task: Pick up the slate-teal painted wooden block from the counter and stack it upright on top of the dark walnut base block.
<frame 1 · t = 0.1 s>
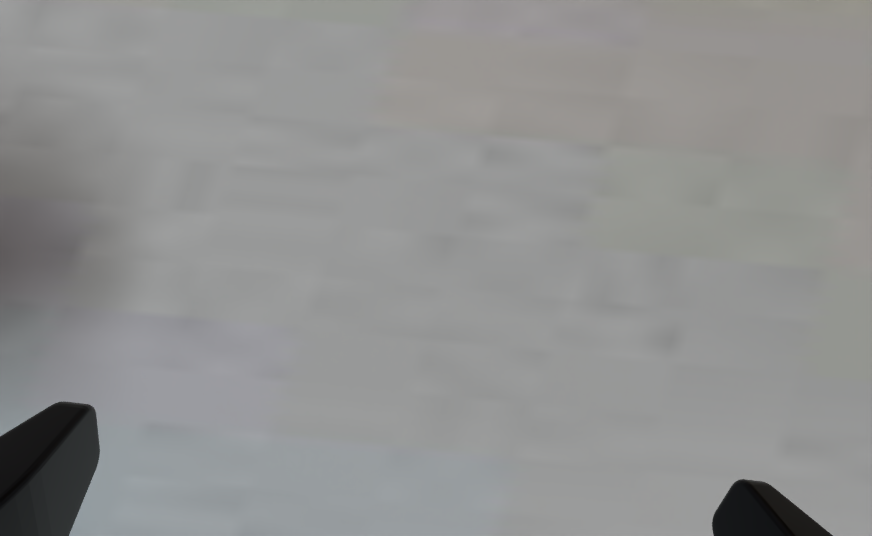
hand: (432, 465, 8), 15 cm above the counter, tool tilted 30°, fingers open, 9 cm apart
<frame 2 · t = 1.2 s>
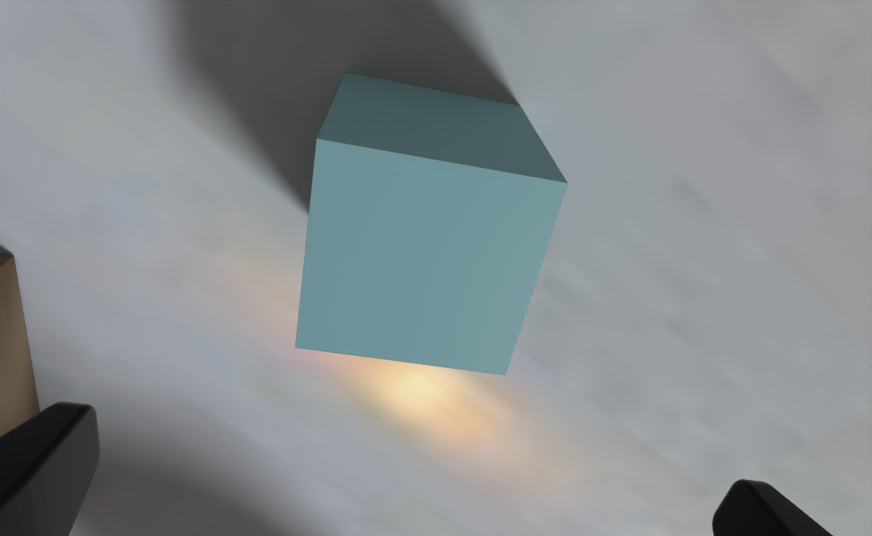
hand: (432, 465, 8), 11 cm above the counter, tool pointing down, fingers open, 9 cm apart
teal block: (418, 171, 18), on the counter
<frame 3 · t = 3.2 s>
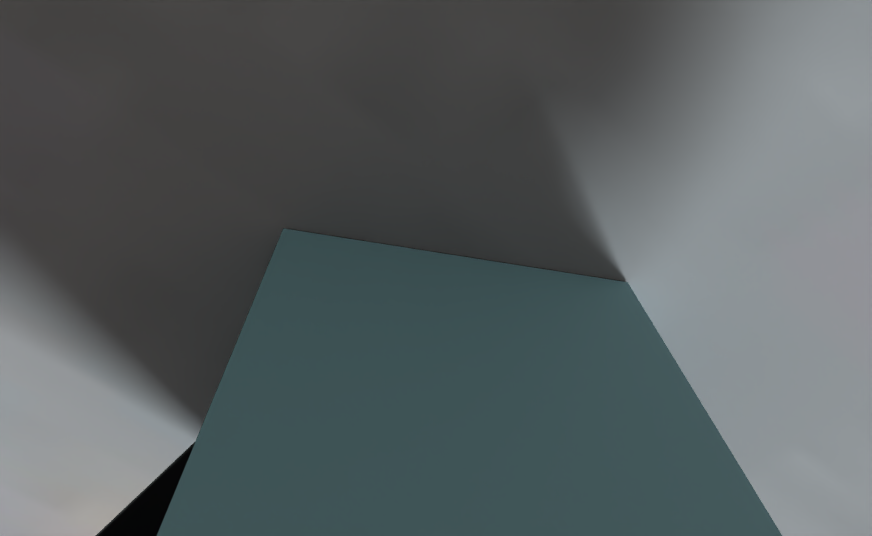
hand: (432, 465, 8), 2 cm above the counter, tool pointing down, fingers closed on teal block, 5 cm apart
teal block: (428, 390, 10), on the counter, touching gripper
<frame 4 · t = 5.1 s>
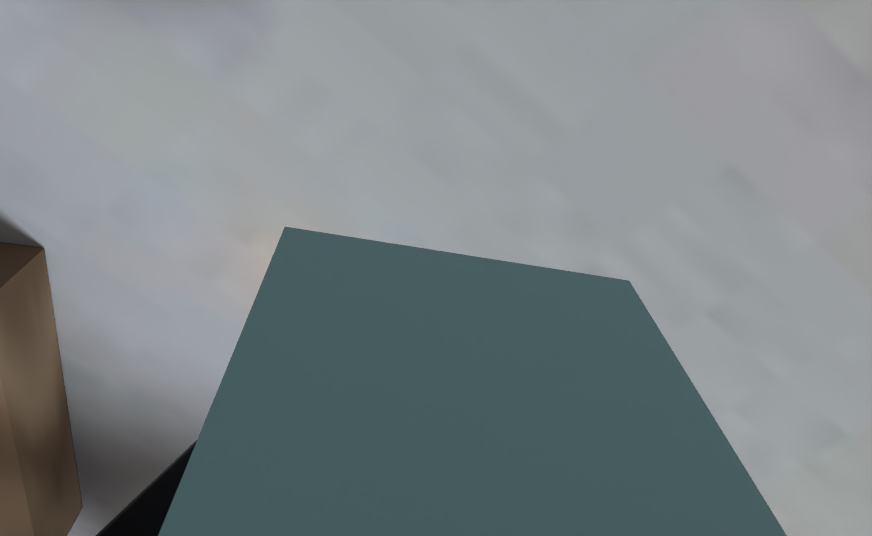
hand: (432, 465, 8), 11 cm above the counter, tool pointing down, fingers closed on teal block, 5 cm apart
teal block: (430, 388, 10), point 9 cm above the counter, touching gripper
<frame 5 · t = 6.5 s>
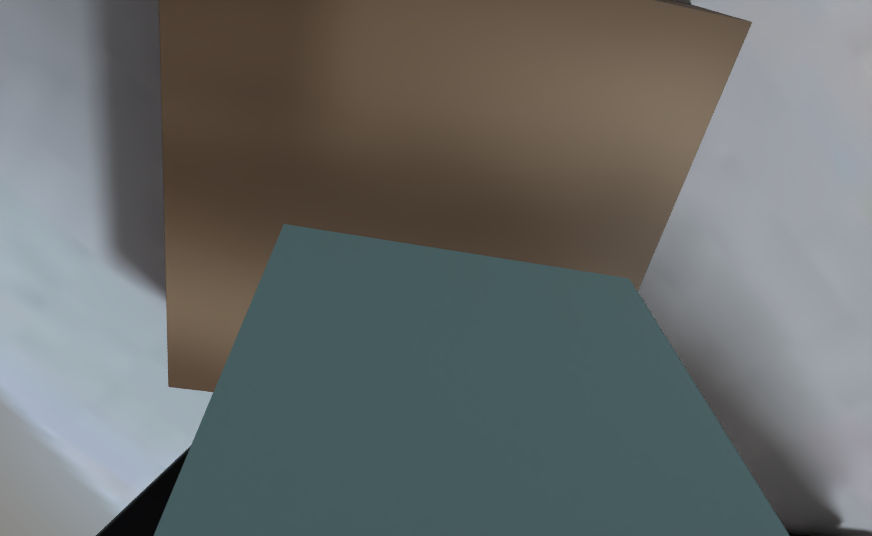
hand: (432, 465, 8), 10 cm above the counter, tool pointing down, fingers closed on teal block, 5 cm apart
walnut base: (417, 184, 17), on the counter
teal block: (429, 387, 10), point 9 cm above the counter, touching gripper
when the fingers open (6 cm above the counter, at t = 8.0 s): teal block drops 1 cm, resting on walnut base.
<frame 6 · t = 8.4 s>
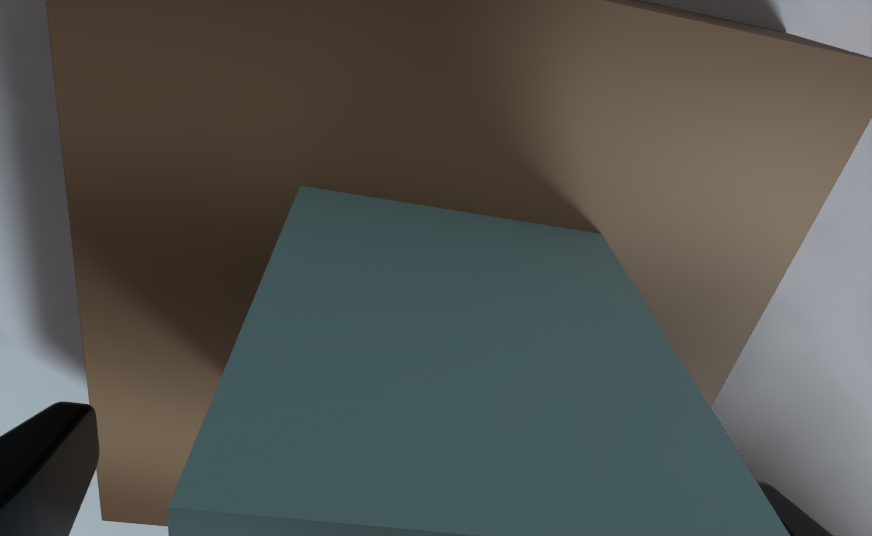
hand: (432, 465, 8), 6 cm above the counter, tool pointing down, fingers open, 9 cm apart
walnut base: (421, 257, 14), on the counter
teal block: (427, 334, 11), point 3 cm above the counter, touching walnut base
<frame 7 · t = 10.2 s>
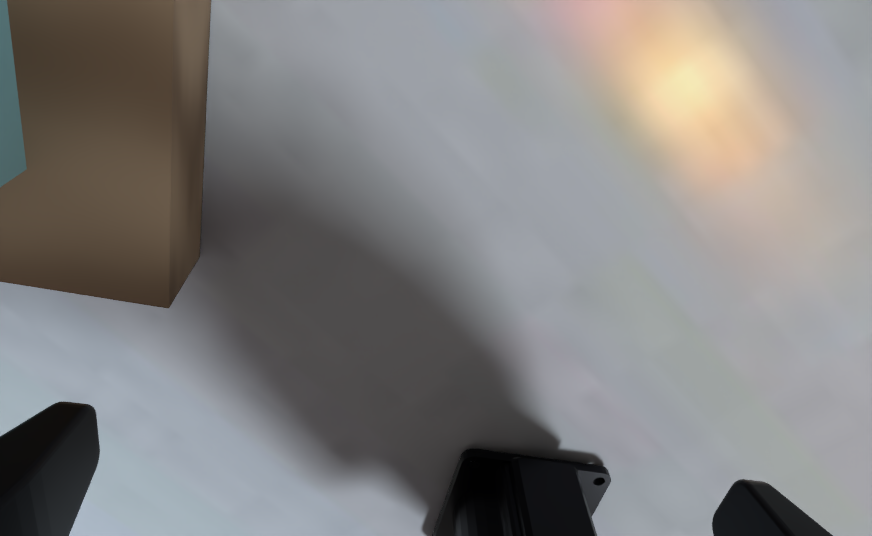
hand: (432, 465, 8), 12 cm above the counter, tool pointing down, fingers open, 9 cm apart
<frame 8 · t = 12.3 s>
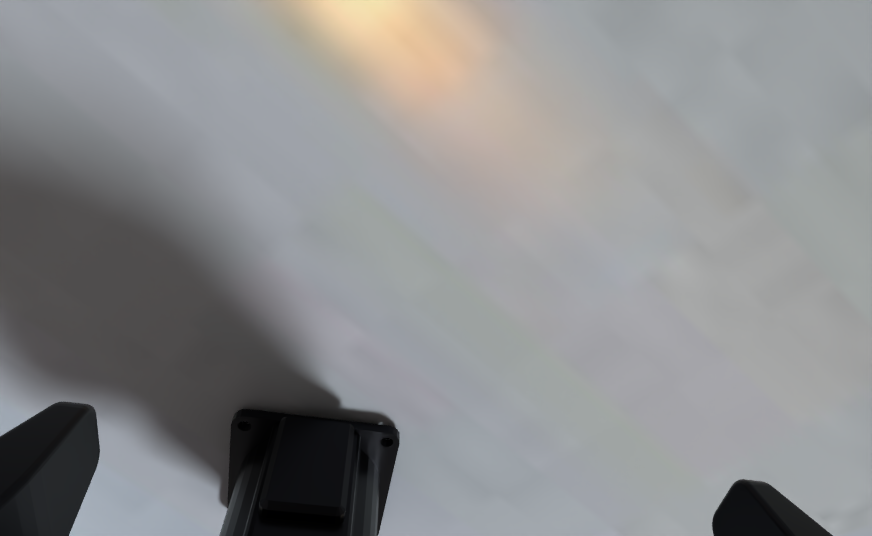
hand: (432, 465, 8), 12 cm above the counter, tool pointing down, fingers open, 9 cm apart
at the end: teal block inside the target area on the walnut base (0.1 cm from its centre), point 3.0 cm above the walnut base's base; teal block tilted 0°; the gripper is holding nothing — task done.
